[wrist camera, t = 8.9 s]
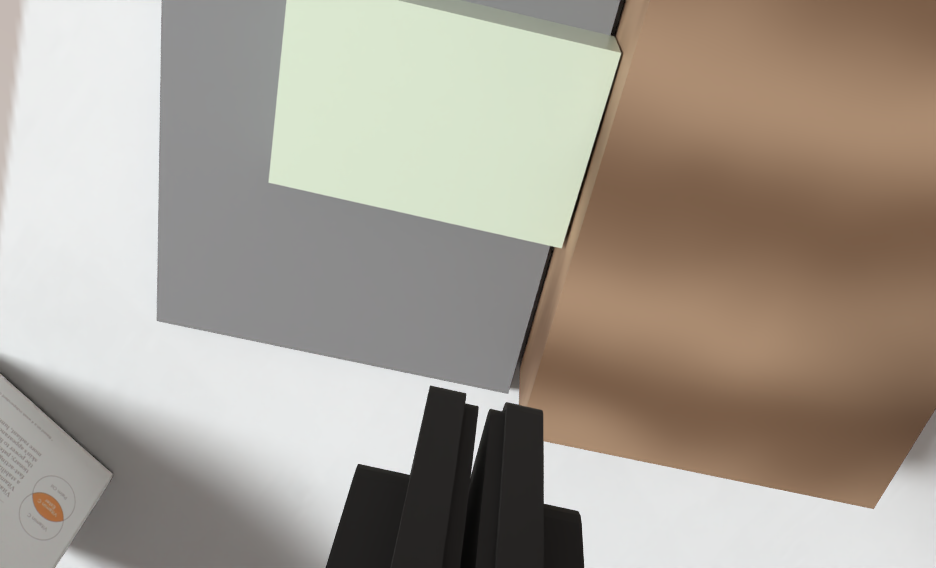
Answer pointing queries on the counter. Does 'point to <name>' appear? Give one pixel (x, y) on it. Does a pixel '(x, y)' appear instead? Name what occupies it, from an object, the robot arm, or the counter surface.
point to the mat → (320, 221)
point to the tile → (441, 111)
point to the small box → (41, 484)
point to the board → (752, 248)
